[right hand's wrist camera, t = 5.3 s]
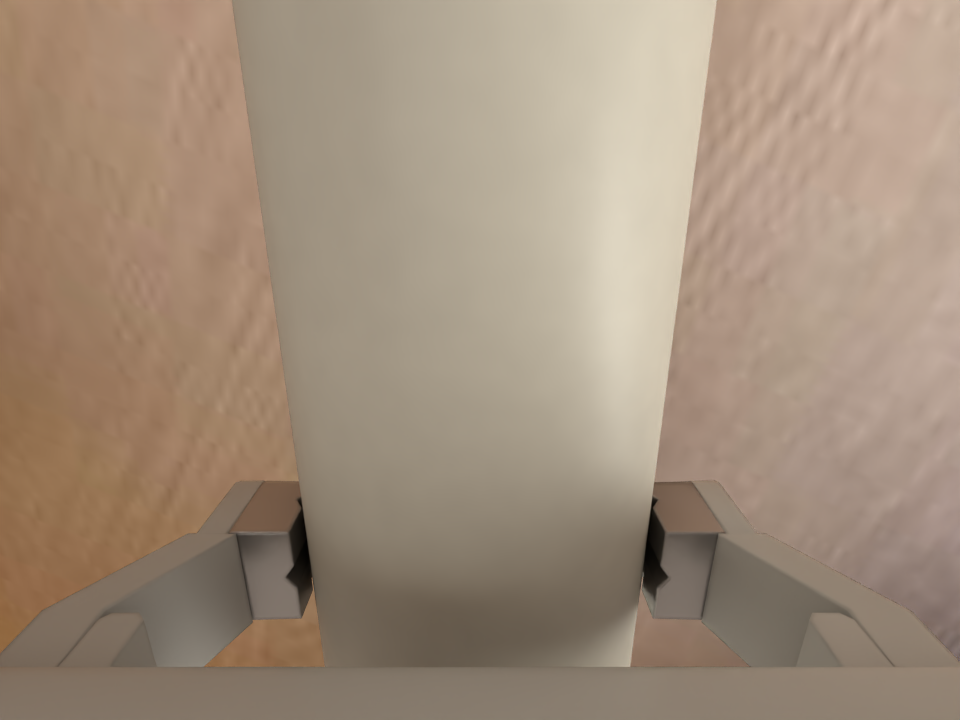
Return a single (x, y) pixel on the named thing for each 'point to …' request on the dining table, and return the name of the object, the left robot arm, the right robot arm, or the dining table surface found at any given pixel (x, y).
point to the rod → (475, 308)
